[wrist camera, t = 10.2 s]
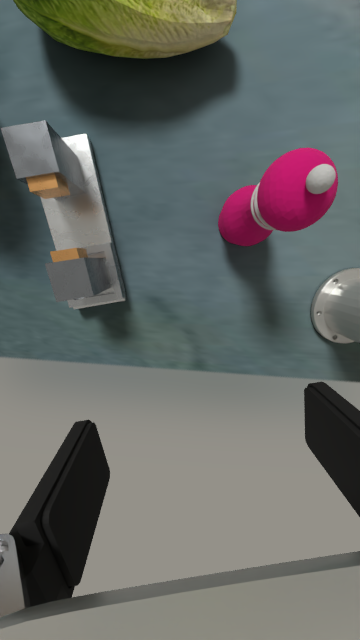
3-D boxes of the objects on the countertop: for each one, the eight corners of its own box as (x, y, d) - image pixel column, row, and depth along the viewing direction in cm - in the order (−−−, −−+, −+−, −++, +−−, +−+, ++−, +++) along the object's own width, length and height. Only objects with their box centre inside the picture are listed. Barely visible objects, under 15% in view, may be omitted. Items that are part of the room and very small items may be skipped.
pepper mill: (230, 257, 35) (304, 254, 16) (205, 215, 34) (254, 156, 14) (270, 229, 35) (398, 192, 15) (247, 185, 33) (358, 80, 14)
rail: (90, 139, 31) (56, 88, 21) (126, 298, 36) (112, 312, 27) (31, 149, 31) (-28, 102, 21) (77, 307, 36) (46, 323, 27)
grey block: (110, 287, 34) (93, 295, 27) (81, 292, 34) (56, 301, 27) (101, 249, 33) (80, 246, 25) (71, 254, 33) (41, 252, 25)
